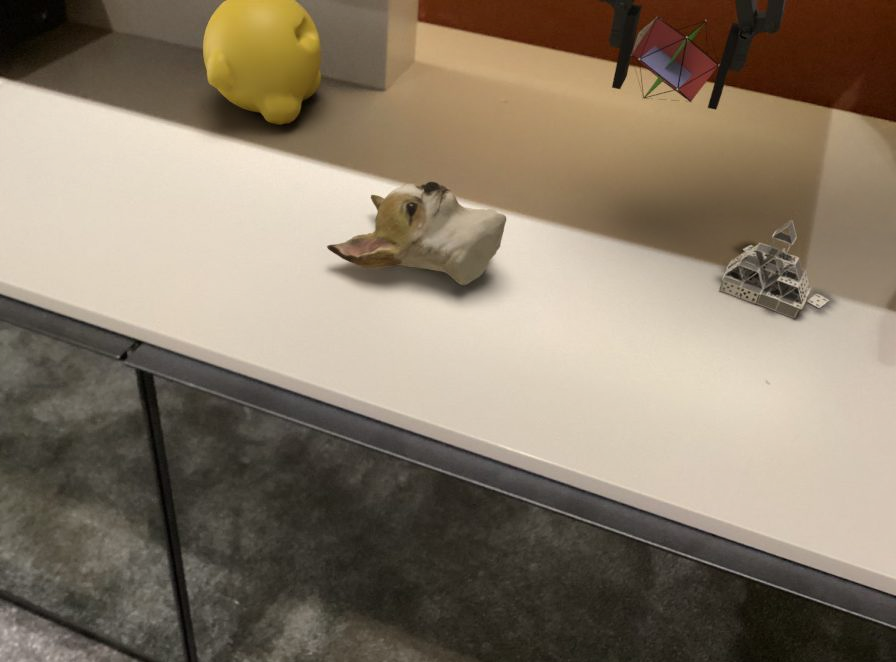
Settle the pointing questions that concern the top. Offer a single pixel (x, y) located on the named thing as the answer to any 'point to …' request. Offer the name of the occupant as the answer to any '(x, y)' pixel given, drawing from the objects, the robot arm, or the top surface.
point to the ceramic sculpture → (427, 234)
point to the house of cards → (771, 277)
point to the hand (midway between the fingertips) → (666, 91)
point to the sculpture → (263, 56)
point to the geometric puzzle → (673, 58)
